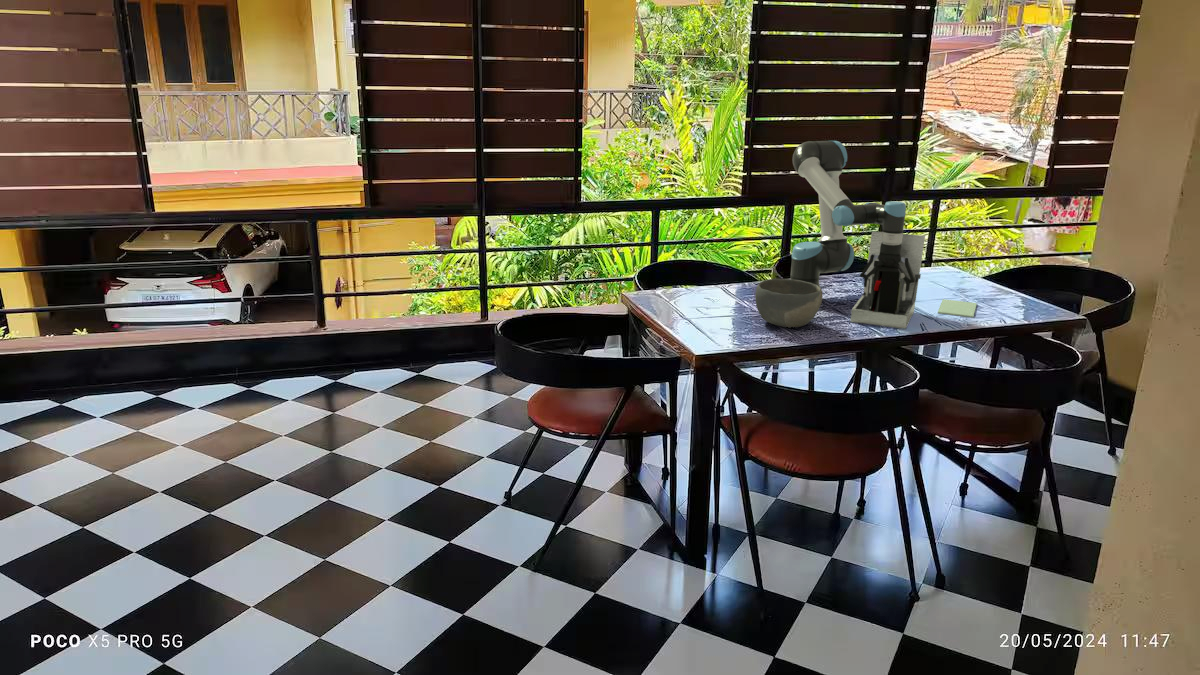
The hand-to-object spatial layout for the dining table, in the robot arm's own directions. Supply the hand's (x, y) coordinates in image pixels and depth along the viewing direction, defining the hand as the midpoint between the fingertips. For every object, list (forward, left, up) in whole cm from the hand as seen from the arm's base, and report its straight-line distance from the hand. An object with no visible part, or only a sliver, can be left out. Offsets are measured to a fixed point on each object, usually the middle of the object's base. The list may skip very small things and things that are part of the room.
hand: (885, 297), depth 325 cm
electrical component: (0, 0, -8) cm, 8 cm away
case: (0, +3, -8) cm, 8 cm away
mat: (+25, +26, -8) cm, 37 cm away
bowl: (-31, -27, -8) cm, 42 cm away
